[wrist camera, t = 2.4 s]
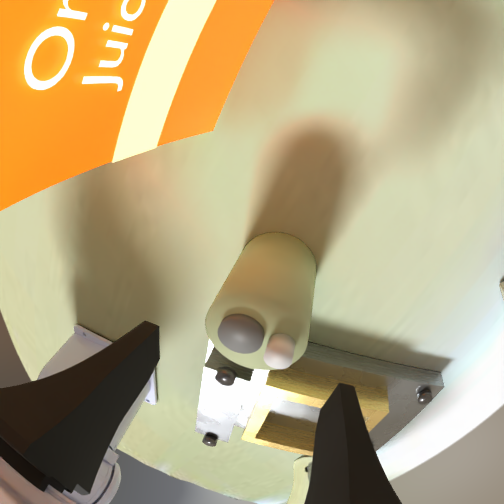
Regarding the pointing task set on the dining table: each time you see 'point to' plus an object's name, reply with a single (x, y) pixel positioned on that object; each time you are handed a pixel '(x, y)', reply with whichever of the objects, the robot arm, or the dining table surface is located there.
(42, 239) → the dining table surface
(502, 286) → the skincare box
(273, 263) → the spout can
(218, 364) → the grey metal fixture plate
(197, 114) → the orange juice
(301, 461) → the beer glass
